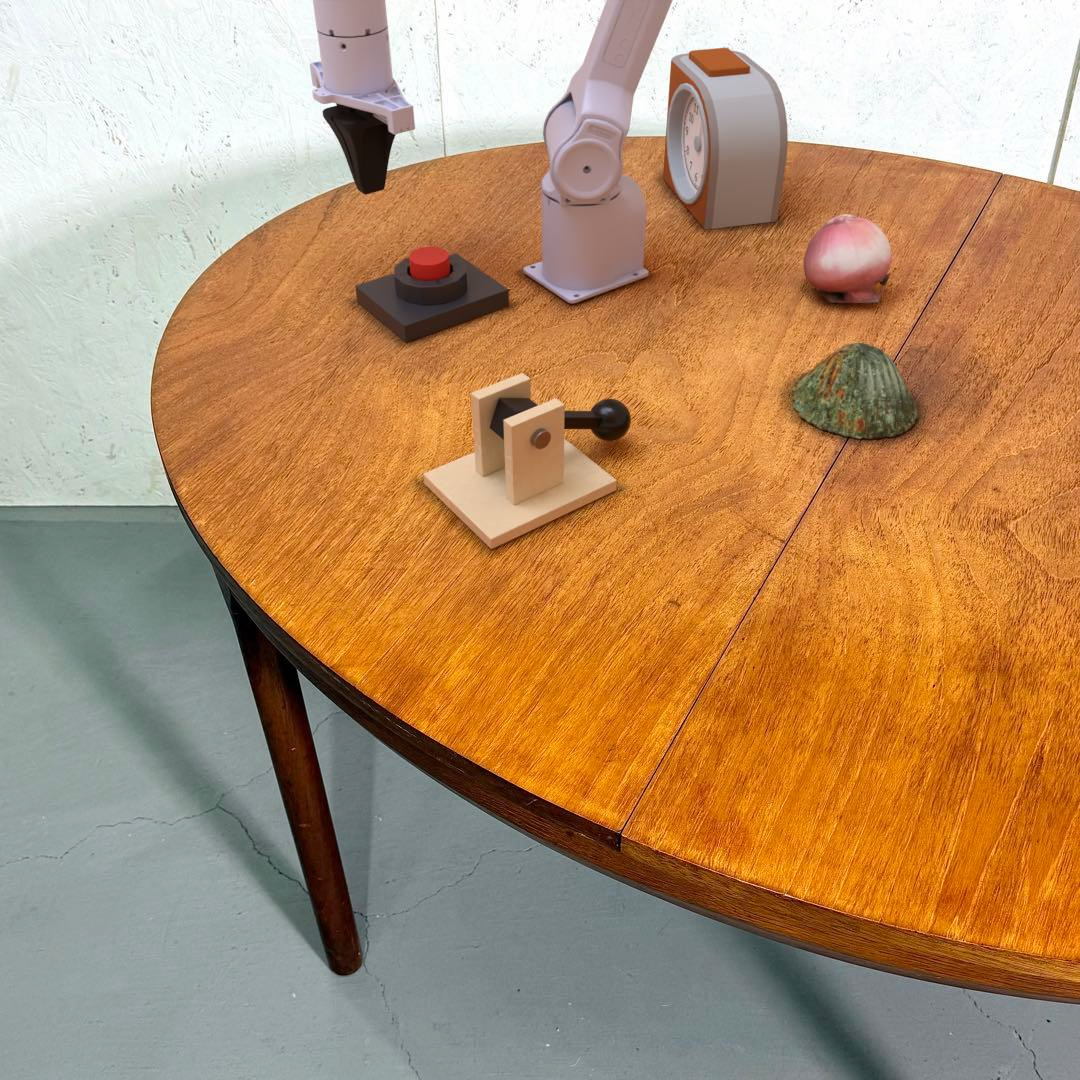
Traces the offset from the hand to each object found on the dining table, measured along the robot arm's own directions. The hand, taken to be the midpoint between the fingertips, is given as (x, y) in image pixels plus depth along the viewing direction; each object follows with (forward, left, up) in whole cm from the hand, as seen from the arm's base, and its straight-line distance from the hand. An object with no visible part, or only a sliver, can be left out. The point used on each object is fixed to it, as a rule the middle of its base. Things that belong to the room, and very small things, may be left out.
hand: (371, 189), depth 95 cm
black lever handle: (+3, +33, -7) cm, 34 cm away
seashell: (-21, +40, -10) cm, 46 cm away
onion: (-34, +27, -10) cm, 44 cm away
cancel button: (-2, +6, -6) cm, 9 cm away
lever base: (+7, +33, -9) cm, 35 cm away
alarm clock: (-39, +4, -10) cm, 40 cm away
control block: (-2, +6, -9) cm, 11 cm away
